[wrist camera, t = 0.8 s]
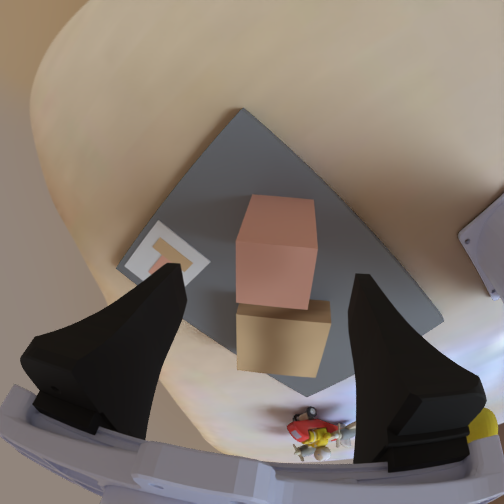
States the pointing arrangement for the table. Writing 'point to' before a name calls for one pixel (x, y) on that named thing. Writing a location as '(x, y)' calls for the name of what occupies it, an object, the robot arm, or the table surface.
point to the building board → (226, 231)
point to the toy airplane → (318, 435)
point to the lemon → (483, 426)
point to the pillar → (276, 252)
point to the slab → (282, 338)
